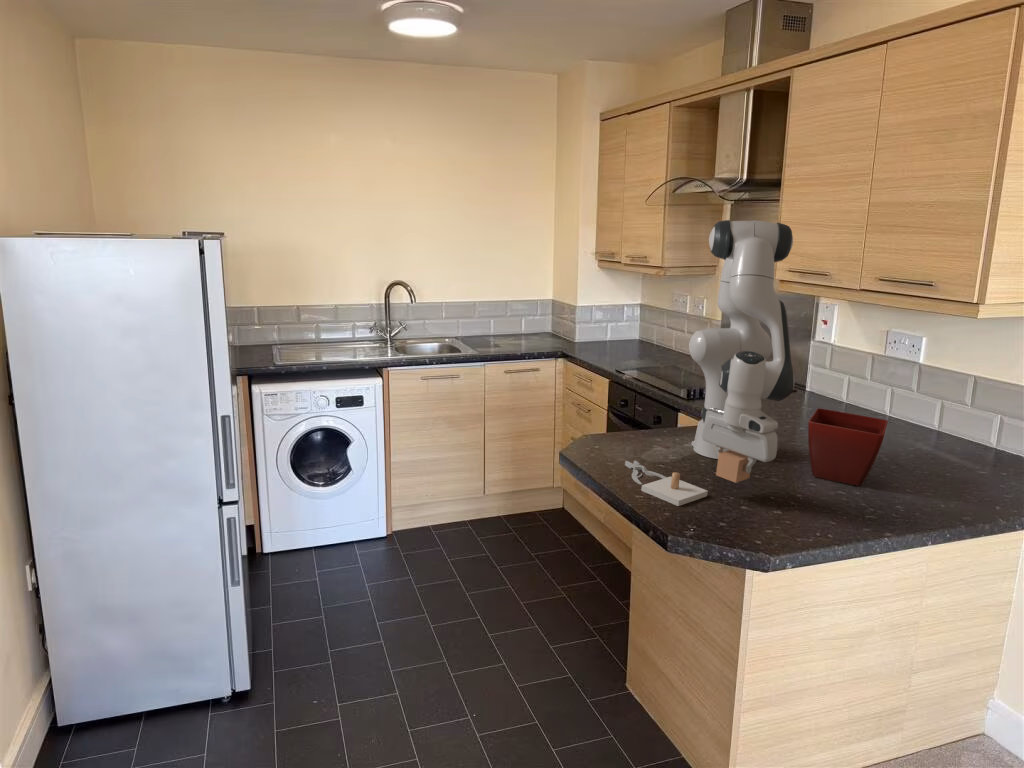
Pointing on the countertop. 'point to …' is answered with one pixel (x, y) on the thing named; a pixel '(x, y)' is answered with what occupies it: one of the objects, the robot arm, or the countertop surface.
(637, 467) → the pliers
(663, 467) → the countertop surface
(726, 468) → the tan cardboard cube
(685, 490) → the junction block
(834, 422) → the plant pot
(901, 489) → the countertop surface
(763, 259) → the robot arm
